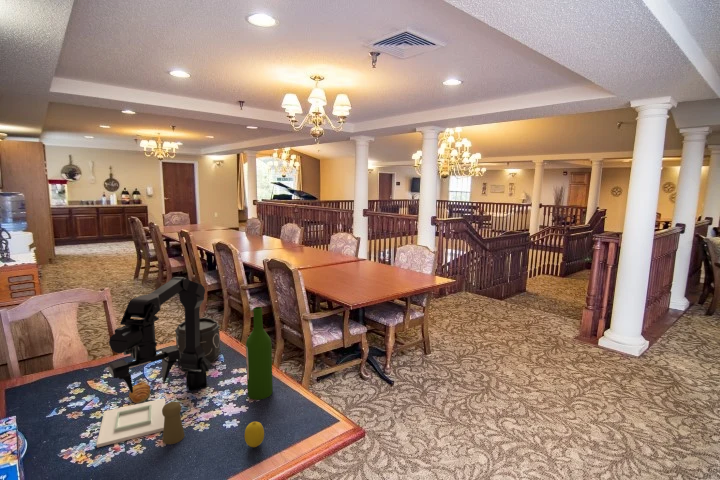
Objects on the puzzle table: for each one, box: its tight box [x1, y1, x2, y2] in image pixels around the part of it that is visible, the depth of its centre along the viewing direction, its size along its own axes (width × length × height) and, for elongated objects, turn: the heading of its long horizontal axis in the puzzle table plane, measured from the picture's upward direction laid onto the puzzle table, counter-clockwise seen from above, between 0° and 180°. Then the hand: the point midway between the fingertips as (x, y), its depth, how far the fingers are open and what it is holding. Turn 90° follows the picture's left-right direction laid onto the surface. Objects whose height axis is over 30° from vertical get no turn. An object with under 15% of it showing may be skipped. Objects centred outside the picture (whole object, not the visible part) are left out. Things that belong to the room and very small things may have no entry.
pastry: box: [128, 382, 151, 404], centre depth 137 cm, size 9×7×4 cm
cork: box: [162, 401, 186, 445], centre depth 116 cm, size 6×6×11 cm
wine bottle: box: [245, 306, 274, 401], centre depth 138 cm, size 9×9×32 cm
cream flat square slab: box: [96, 397, 166, 448], centre depth 123 cm, size 18×18×2 cm
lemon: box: [244, 421, 265, 448], centre depth 112 cm, size 6×6×8 cm
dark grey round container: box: [174, 317, 222, 363], centre depth 167 cm, size 18×18×16 cm
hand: (148, 386), depth 119 cm, fingers open, 9 cm apart
